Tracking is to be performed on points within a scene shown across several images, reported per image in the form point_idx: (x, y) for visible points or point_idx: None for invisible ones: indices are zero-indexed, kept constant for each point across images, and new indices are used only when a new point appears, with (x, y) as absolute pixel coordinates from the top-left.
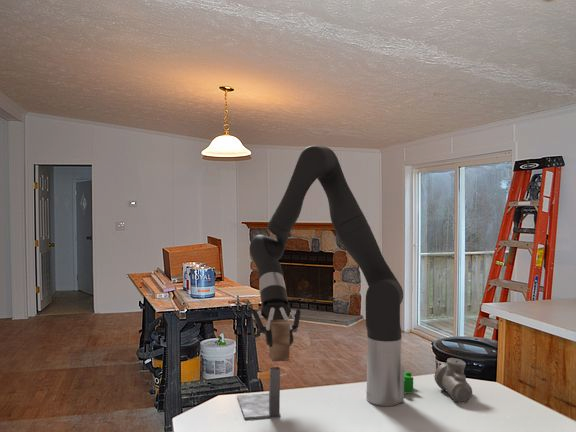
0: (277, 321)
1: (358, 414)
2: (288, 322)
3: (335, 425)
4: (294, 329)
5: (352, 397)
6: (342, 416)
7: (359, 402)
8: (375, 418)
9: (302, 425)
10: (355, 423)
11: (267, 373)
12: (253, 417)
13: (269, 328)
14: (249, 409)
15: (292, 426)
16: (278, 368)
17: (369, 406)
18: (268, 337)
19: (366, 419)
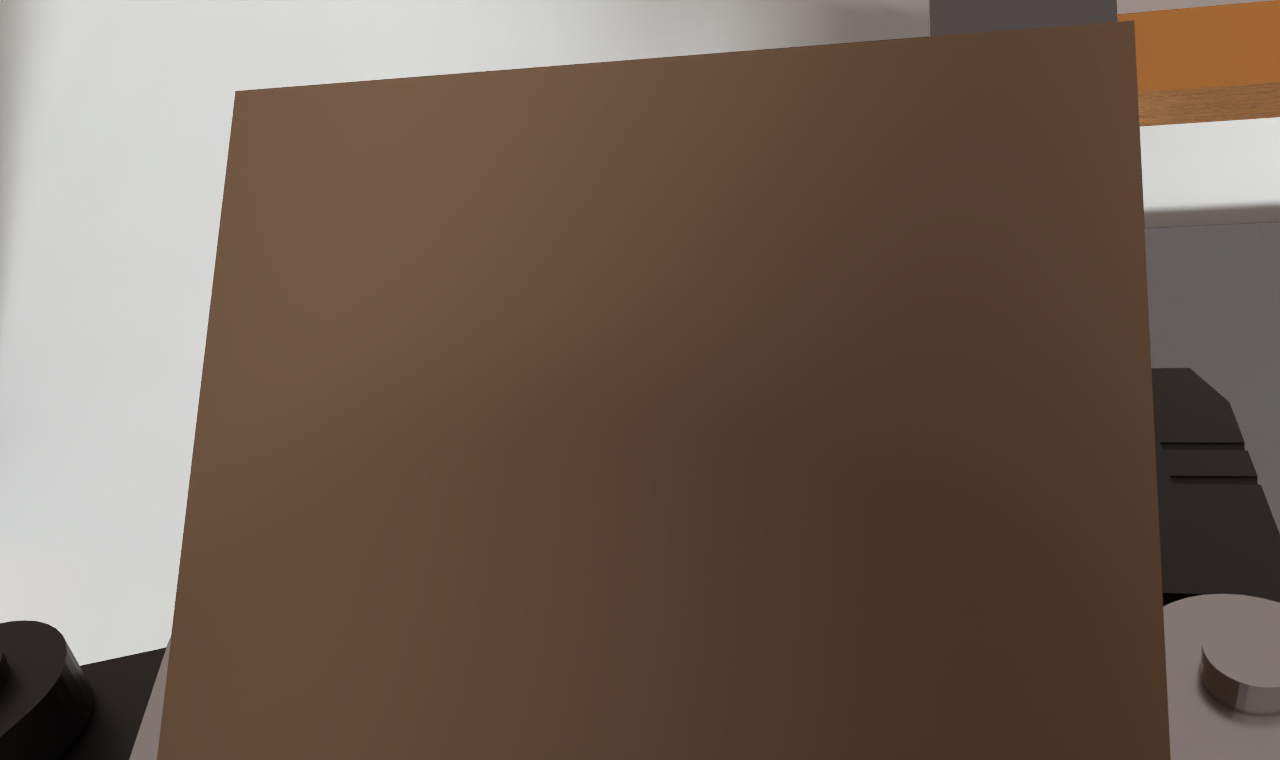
0: (764, 510)
1: (189, 203)
2: (259, 214)
3: (460, 7)
4: (138, 664)
5: (59, 617)
6: None
7: (58, 473)
8: (100, 105)
9: (743, 34)
10: (290, 29)
11: (1158, 13)
12: (1234, 224)
13: (1178, 664)
14: (1269, 434)
15: (842, 22)
16: (952, 8)
17: (23, 361)
18: (1181, 467)
19: (174, 95)
